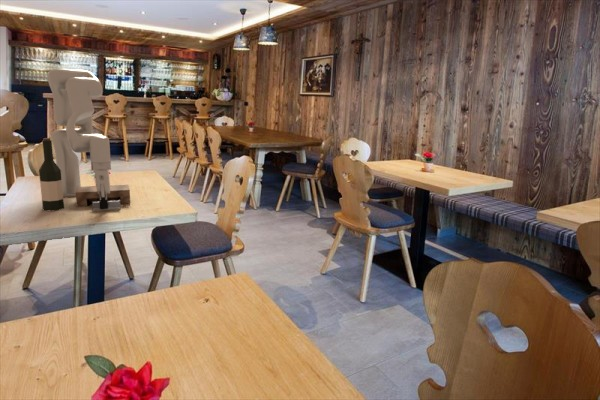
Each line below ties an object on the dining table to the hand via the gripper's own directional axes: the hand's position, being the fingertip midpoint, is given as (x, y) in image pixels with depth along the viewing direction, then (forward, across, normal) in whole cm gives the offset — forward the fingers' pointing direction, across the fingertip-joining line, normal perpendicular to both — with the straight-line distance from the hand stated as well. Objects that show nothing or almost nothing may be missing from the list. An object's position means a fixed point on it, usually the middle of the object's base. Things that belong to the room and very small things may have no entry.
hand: (104, 208), depth 187 cm
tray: (+2, +10, -1) cm, 10 cm away
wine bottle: (+2, +11, +20) cm, 23 cm away
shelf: (+1, +17, 0) cm, 17 cm away
